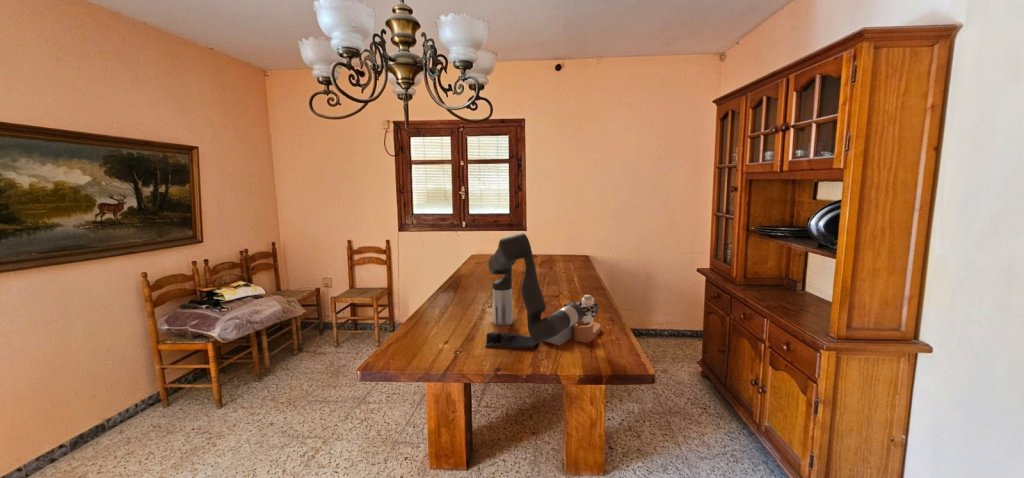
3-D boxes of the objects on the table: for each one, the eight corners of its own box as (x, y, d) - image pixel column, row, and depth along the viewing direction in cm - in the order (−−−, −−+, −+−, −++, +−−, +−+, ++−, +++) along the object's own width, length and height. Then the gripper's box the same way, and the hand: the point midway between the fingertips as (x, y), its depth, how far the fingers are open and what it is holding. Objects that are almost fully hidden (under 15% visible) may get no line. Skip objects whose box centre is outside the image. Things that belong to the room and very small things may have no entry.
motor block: (559, 345, 163) (559, 325, 162) (539, 339, 170) (539, 320, 168) (577, 334, 175) (577, 315, 173) (558, 329, 181) (558, 311, 180)
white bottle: (584, 322, 158) (585, 298, 156) (579, 318, 162) (579, 294, 161) (595, 321, 159) (596, 297, 157) (590, 317, 164) (590, 293, 162)
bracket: (589, 344, 165) (589, 328, 163) (570, 340, 169) (570, 324, 168) (603, 329, 180) (603, 314, 179) (585, 326, 184) (585, 312, 183)
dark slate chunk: (533, 354, 157) (532, 343, 156) (481, 348, 164) (481, 337, 163) (542, 339, 171) (542, 328, 171) (495, 334, 178) (494, 324, 178)
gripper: (585, 310, 144) (607, 298, 157) (552, 302, 153) (575, 292, 166) (585, 329, 145) (606, 316, 158) (553, 321, 154) (575, 309, 167)
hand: (590, 304), depth 162 cm, fingers closed on white bottle, 4 cm apart
